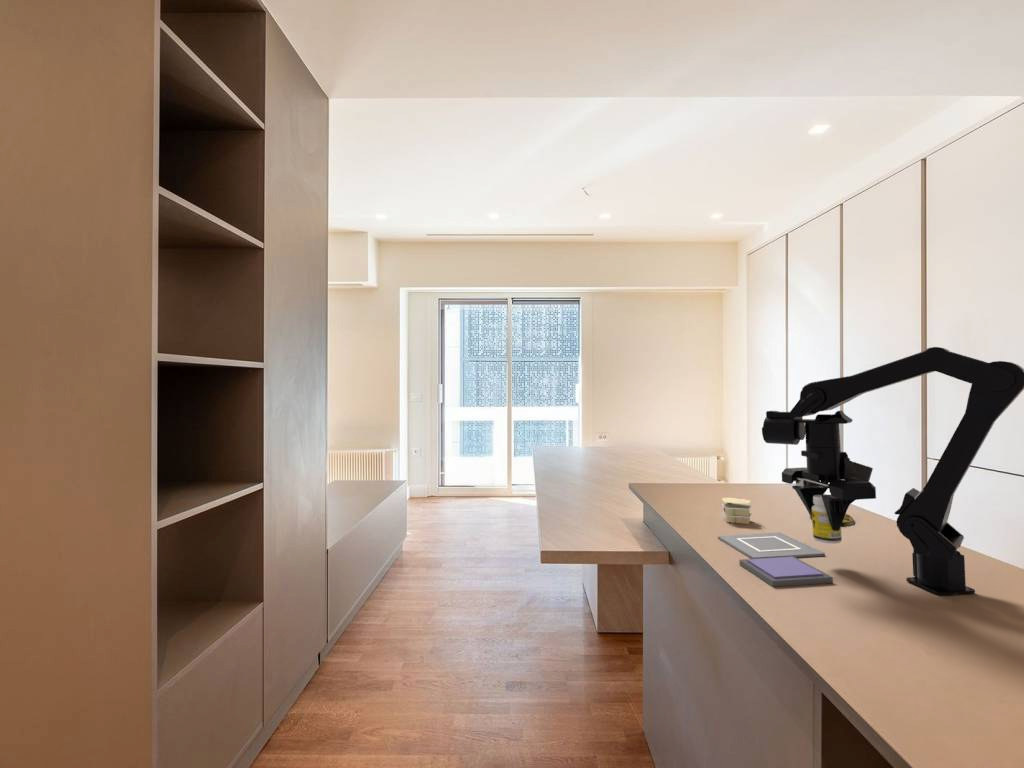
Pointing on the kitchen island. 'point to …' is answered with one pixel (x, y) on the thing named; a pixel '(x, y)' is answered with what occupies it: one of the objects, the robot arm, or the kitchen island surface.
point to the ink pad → (785, 571)
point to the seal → (846, 520)
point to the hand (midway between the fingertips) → (826, 526)
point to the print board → (769, 545)
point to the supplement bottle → (823, 523)
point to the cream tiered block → (736, 510)
